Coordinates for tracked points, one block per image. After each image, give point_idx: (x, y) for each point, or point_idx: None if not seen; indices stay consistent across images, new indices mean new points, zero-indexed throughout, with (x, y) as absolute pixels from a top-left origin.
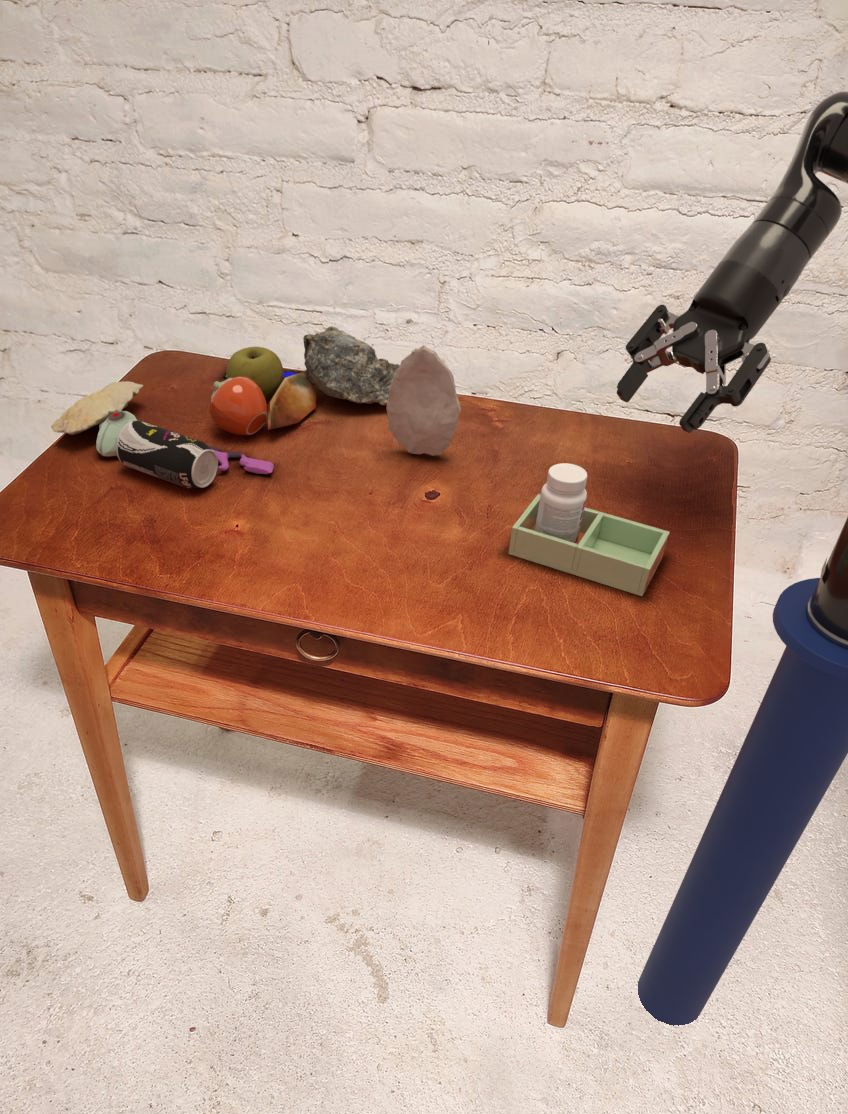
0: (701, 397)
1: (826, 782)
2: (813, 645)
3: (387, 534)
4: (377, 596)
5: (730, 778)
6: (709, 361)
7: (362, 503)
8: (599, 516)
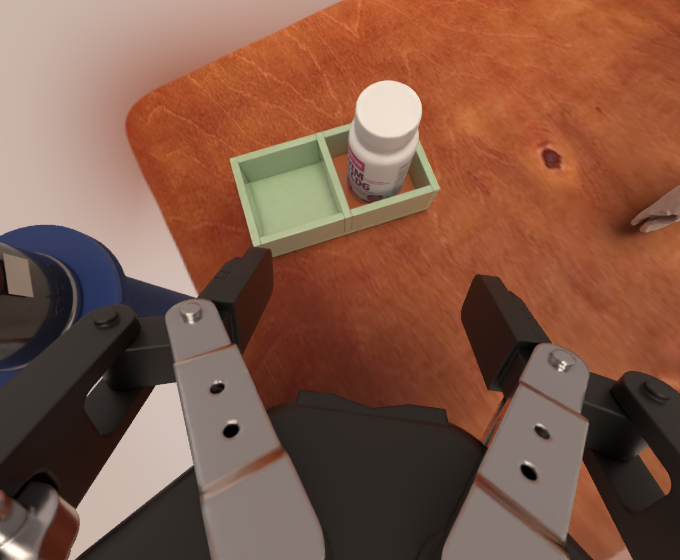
0: (226, 289)
1: None
2: (56, 235)
3: (512, 71)
4: (431, 4)
5: None
6: (223, 374)
7: (584, 89)
8: (344, 206)
